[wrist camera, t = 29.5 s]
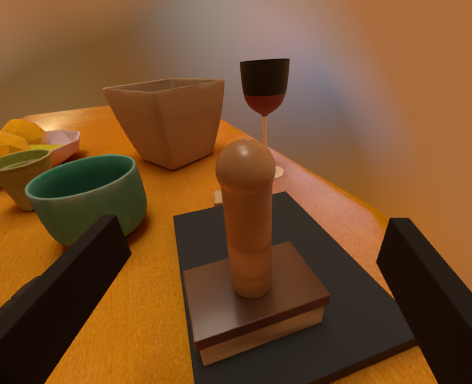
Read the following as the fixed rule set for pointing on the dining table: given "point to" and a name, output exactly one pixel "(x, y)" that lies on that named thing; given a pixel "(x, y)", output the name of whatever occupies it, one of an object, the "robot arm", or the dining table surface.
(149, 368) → the dining table surface
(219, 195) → the tan square block
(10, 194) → the plant pot
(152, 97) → the flower pot
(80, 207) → the mug
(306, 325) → the brush
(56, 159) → the fruit bowl
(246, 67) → the wineglass
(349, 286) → the mat
